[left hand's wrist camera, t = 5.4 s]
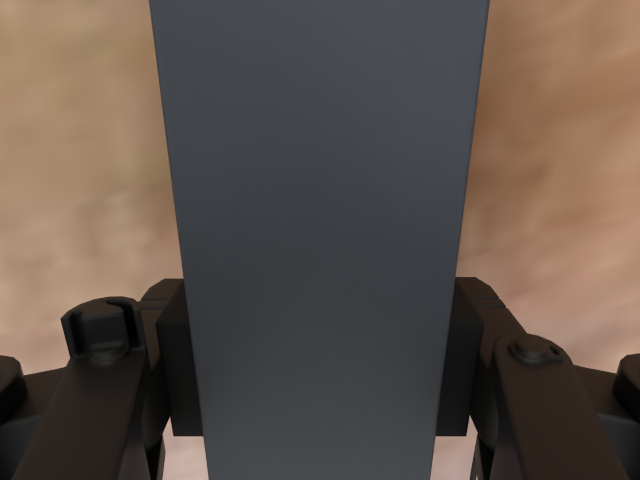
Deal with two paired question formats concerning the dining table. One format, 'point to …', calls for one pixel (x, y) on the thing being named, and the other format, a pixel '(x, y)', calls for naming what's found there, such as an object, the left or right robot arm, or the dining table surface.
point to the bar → (319, 222)
